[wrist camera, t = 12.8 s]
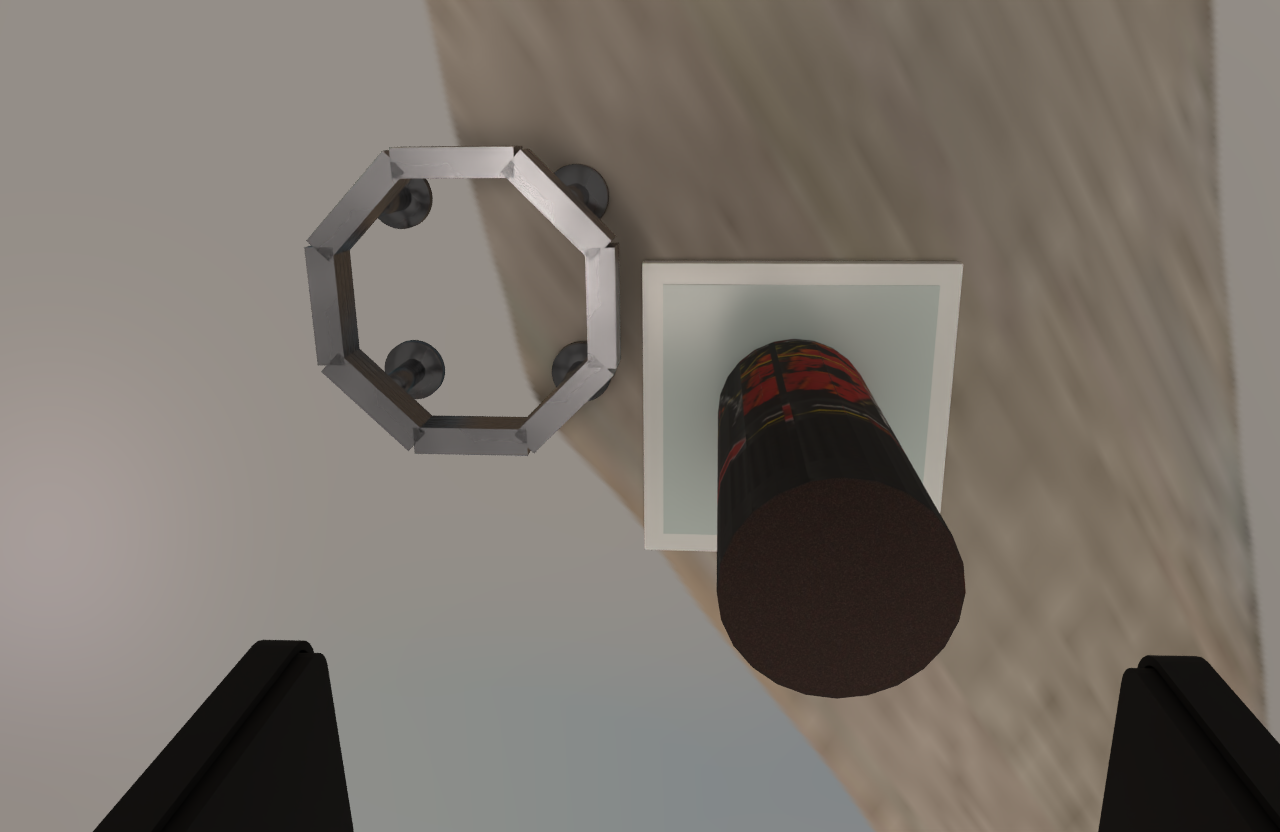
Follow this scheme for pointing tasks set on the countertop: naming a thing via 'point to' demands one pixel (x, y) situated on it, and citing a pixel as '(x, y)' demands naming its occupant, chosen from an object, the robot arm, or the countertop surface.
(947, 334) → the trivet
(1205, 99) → the countertop surface
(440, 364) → the ring stand
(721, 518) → the deodorant
